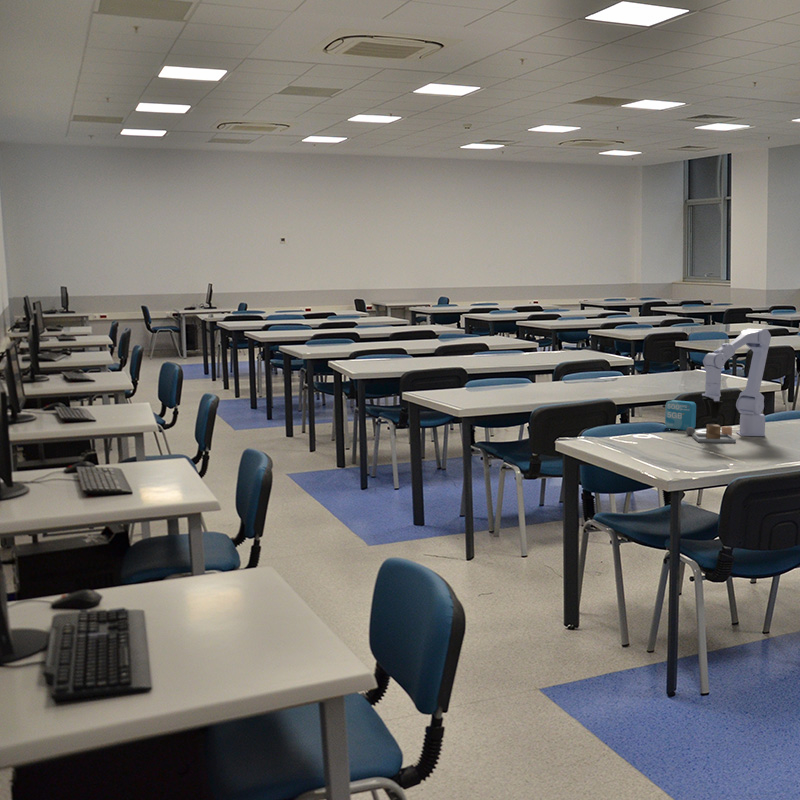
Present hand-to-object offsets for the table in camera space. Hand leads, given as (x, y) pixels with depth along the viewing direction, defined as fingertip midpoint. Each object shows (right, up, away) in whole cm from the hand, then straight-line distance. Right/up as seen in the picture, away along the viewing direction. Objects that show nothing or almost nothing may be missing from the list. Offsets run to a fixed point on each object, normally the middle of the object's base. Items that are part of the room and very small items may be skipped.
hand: (711, 416), depth 334 cm
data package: (-3, -6, +29) cm, 30 cm away
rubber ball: (-5, -8, +12) cm, 15 cm away
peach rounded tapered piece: (+9, -8, +8) cm, 15 cm away
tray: (+1, -9, 0) cm, 9 cm away
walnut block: (+1, -9, 0) cm, 9 cm away
